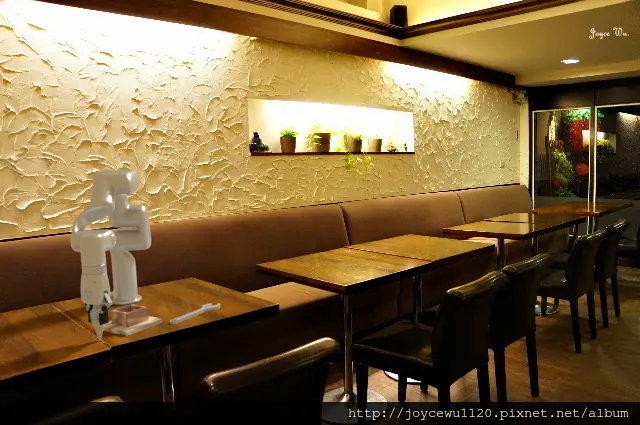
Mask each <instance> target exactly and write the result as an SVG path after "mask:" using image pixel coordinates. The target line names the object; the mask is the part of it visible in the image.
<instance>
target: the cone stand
mask: <svg viewBox="0 0 640 425" xmlns="http://www.w3.org/2000/svg"><path fill="white" fill-rule="evenodd" d="M110 314H111V320H109V322H108V323H106V324H104V328H103V332H108V333H112V334H115V335H116V334H117V335H120V334H121V336H124V335H125V336H124V337H128V335H129V336H131V335H134V334H136V333H140V332H141V331H144V330H147V329H150V328H152V327H155V326H157V325H160V324H164V323H163V321H164V320H163V318H160V317H156V316H155V317H154V316H151V315H149V308H148V306H144V305H139V304H134V303H131V304H126V305H124V306H120V307H118V308H115V309H112V310H110Z"/></svg>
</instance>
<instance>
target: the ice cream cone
mask: <svg viewBox="0 0 640 425" xmlns="http://www.w3.org/2000/svg"><path fill="white" fill-rule="evenodd" d="M99 313H100V311H99V307H98V306H97V305H93V309H92V310H91V313H90V315H91V316H90V319H91V321H92V322H91V323H92V325H93V329H94V331H95V333H96V336H97V338H98V341H101V340H102V337H103V332H104V331H103V328H104V324H103V325H100V324H99Z"/></svg>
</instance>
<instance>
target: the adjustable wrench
mask: <svg viewBox="0 0 640 425" xmlns="http://www.w3.org/2000/svg"><path fill="white" fill-rule="evenodd" d="M220 308H221V303H218V302H217V304H215V305H213V303H212V302H211V303H206V304H204V305H201V308H199V309H196V310H192V311H191V312H188V313H186V314H185V313H184V314H183V315H181V316H177V317H176V318H173V319H170V320H169V324H170V325H176V324H179V323H182V322H184V321H186V320H188V319H191V318H195V317H196V316H198V315H199V316H200V315H201V314H203V313H206V312H210V311H215V310H219V309H220Z"/></svg>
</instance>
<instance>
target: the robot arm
mask: <svg viewBox="0 0 640 425" xmlns="http://www.w3.org/2000/svg"><path fill="white" fill-rule="evenodd" d="M139 187H140V175H139V173H138V171H136V169H105V170H104V169H103V170H97V171H94V173H93V174H92V187H91V194H90V200H89V205H88V206H87V207H85V208H84V209H83V210H81V212H80V213H79V214H78V215H77V216H76V217H75V219H74V220H73V223H72V226H71V227H72V228H71V234H70V247H71V248H72V250H73V251H74V252H77V253H80V262H81V272H82V273H81V277H80V300H81V302H82V303H84V306H85V308H86V311H87V319H88V320H87V322H88V323H92V321H91V319H90V316H91V315H90V313H91V310H92V309H93V305H97V306H98V307H99V311H100V313H99V324H100V325H103V324H106V323H108V322H109V321H110V320H109V318H110V317H109V311H110V308H111V307H112V306H113V305H117V306H118V305H124V306H125V305H130V304H134V303H138V302H140V301H141V300H142V299H143V298H142V297H143V296H142V295H140V294H139V292H138V282H137V280H138V278H137V265H136V259H135V257H134V256H133V255H132V253H131V252H130V251H141V250H142V251H143V250H148V249H149V248H150V247H151V245H152V235H151V234H152V233H151V225H150V218H149V211H148V208H147V207H146V206H145V205H144V204H137V203H136V204H130V203H129V200H128V195H129V194H130V195H131V194H133V193H135V192H136V191H137V190H138V188H139ZM106 217H107V219H108V222H109V225H110V226H111V227H113V228H116V229H112V230H111V229H104V228H103V229H86V228H87V227H88V226H89V225H90V224H92V223H94V222H98V221H99V220H102V219H104V218H106ZM85 229H86V230H85ZM108 251H109V252H110V258H111V272H112V283H113V284H112V285H113V290H112V291H111V286H110V282H109V281H110V280H109V277H108V274H107V273H108V270H107V269H108V268H107V257H106V252H108ZM111 296H113V298H112V297H111Z"/></svg>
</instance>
